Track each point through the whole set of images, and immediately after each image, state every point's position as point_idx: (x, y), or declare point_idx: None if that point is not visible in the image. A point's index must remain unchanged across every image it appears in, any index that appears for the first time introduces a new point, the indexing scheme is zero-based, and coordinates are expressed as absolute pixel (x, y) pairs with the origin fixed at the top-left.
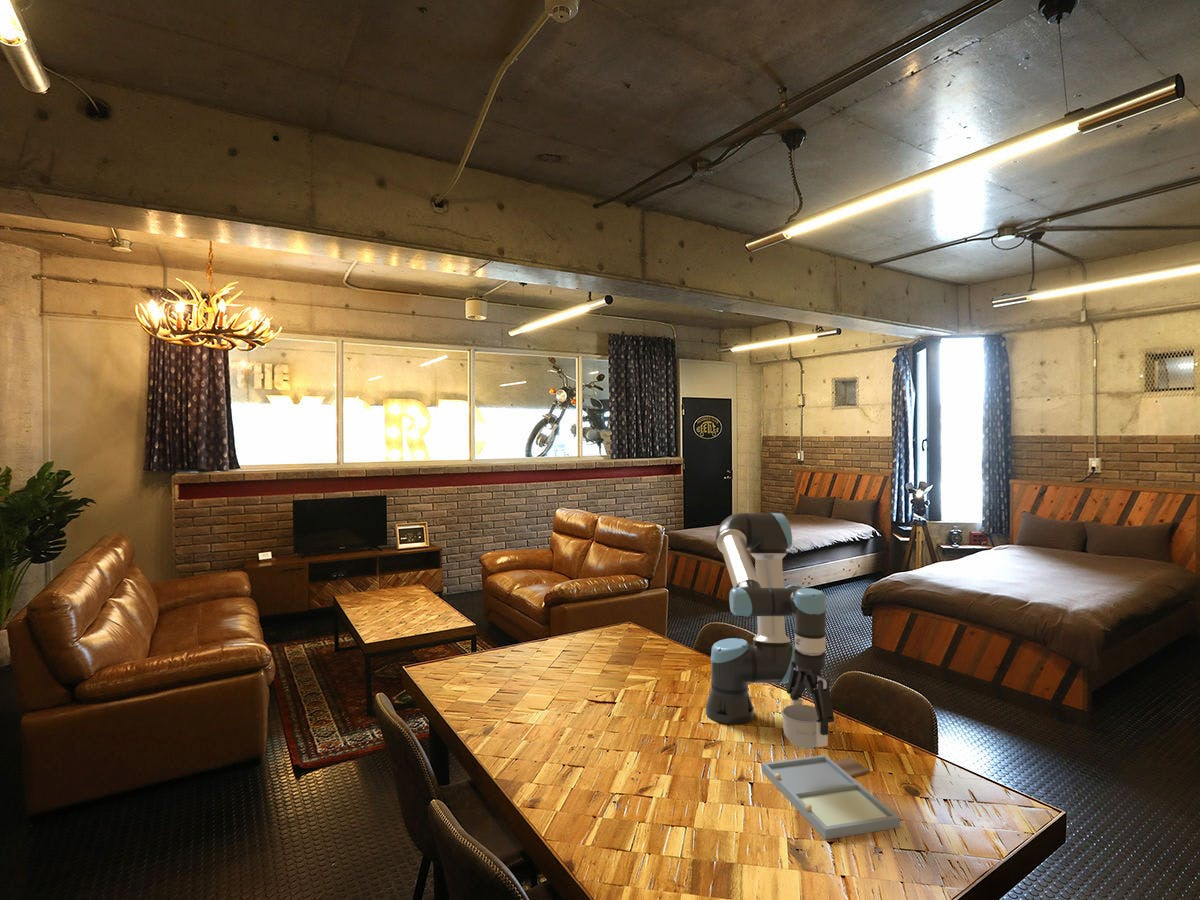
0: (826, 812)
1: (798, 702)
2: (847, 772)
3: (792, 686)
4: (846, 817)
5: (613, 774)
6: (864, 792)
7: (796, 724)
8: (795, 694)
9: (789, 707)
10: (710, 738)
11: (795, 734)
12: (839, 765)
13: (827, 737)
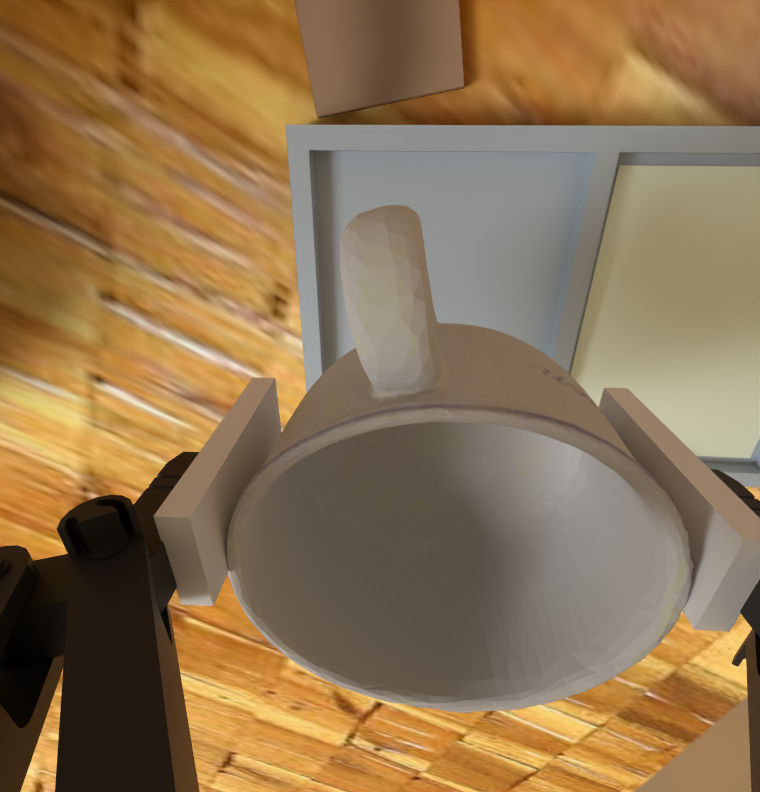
0: (677, 408)
1: (210, 542)
2: (435, 73)
3: (13, 747)
4: (748, 357)
5: (272, 727)
6: (683, 152)
7: (544, 665)
8: (180, 679)
9: (258, 598)
10: (72, 495)
11: (515, 591)
12: (357, 72)
13: (661, 423)
